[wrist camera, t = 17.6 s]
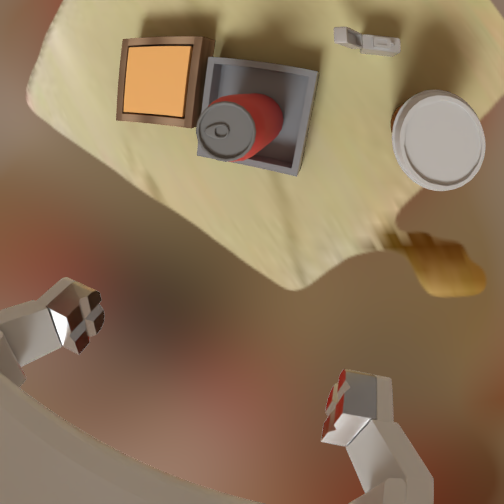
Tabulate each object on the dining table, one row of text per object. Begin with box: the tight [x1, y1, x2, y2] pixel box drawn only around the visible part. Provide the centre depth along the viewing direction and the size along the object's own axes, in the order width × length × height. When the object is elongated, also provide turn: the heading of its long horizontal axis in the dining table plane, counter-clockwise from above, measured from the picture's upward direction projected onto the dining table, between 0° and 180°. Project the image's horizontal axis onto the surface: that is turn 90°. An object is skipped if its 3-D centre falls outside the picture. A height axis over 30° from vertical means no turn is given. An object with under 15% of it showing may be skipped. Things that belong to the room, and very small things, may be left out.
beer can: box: [196, 93, 283, 162], centre depth 31 cm, size 7×7×12 cm
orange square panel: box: [123, 46, 193, 117], centre depth 34 cm, size 9×9×1 cm
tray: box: [197, 57, 319, 176], centre depth 35 cm, size 13×13×4 cm
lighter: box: [334, 27, 401, 57], centre depth 26 cm, size 7×2×8 cm, turn 93°
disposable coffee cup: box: [391, 90, 485, 191], centre depth 27 cm, size 10×10×12 cm
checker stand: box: [116, 36, 215, 128], centre depth 35 cm, size 12×12×4 cm
